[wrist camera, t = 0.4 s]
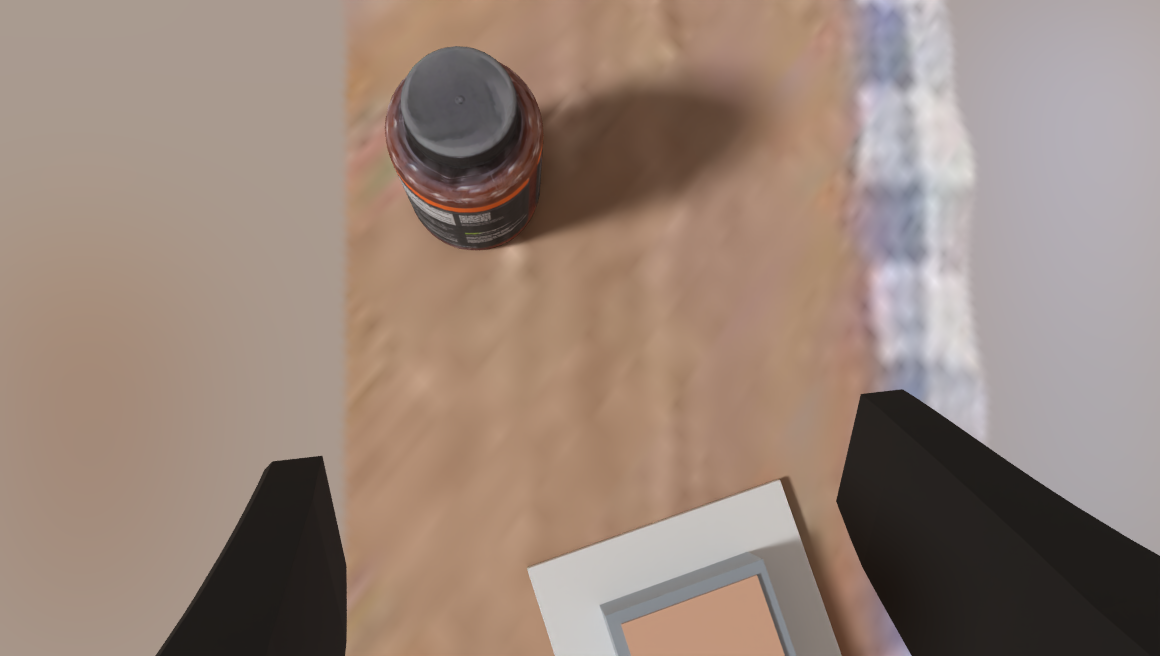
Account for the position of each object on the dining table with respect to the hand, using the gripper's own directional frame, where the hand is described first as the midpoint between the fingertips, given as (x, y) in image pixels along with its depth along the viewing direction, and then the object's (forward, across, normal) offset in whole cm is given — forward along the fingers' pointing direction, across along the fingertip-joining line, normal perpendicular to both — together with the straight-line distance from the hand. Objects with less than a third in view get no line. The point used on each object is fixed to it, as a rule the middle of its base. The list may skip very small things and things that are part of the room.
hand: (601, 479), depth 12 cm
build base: (+14, -8, +27) cm, 31 cm away
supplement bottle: (+30, 0, +10) cm, 31 cm away
